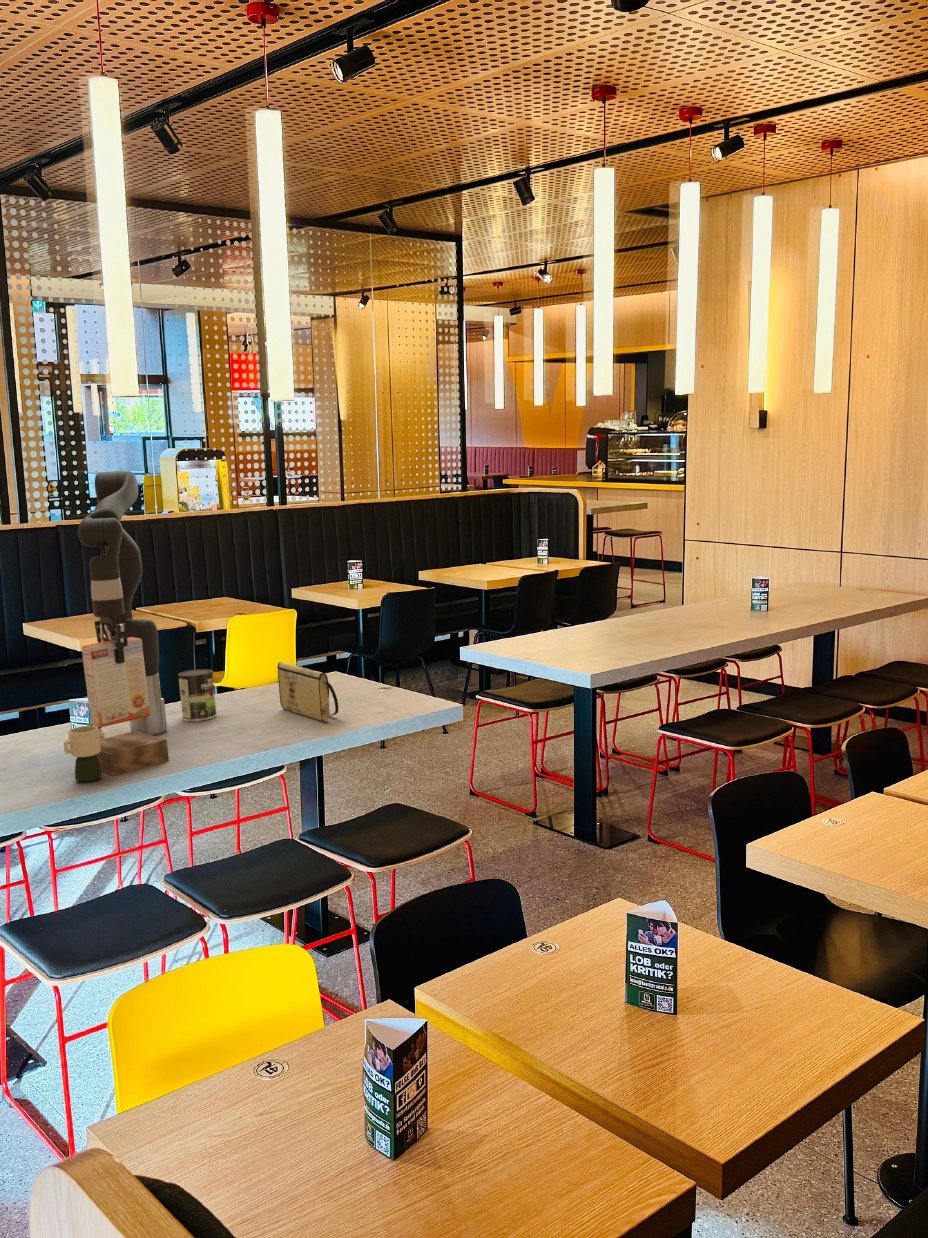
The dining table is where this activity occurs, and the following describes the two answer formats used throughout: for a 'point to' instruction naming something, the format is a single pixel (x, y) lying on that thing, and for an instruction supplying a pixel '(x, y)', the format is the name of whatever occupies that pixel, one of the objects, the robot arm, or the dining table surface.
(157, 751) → the walnut block
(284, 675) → the clutch purse
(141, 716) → the cracker box
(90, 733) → the character mug
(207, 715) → the coffee can
